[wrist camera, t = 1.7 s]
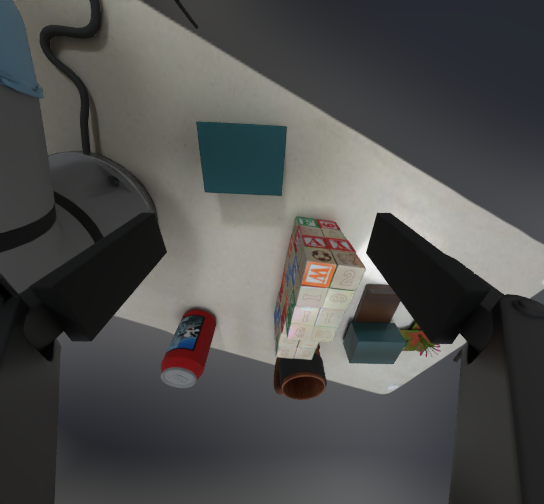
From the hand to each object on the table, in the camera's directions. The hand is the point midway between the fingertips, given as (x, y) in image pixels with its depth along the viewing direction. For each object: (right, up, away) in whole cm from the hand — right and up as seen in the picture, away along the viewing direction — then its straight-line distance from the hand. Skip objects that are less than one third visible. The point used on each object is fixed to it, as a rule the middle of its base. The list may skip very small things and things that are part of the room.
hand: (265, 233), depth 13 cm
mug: (+4, -19, +33) cm, 38 cm away
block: (-3, +11, +14) cm, 18 cm away
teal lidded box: (+21, -14, +30) cm, 39 cm away
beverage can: (-14, -15, +30) cm, 36 cm away
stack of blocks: (+5, -5, +24) cm, 25 cm away
